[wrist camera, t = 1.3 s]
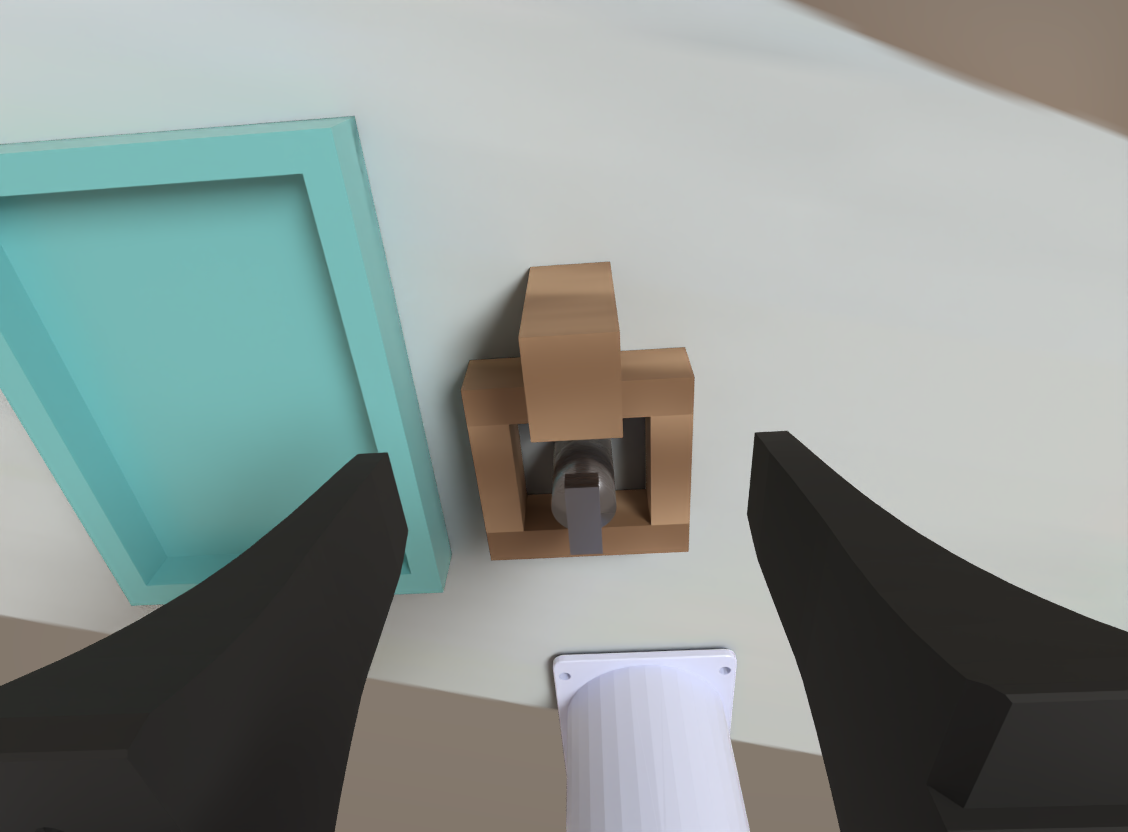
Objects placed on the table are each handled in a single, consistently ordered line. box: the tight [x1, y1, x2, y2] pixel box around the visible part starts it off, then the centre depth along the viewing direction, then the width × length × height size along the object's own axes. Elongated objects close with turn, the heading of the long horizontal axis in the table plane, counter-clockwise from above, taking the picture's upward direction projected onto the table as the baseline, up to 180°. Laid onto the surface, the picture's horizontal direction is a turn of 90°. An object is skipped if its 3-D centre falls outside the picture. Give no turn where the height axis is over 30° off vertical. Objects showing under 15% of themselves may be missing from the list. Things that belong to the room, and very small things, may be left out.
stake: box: [551, 438, 617, 555], centre depth 21 cm, size 3×2×4 cm
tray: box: [0, 116, 452, 606], centre depth 21 cm, size 16×12×2 cm
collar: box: [461, 262, 695, 560], centre depth 20 cm, size 10×7×5 cm
